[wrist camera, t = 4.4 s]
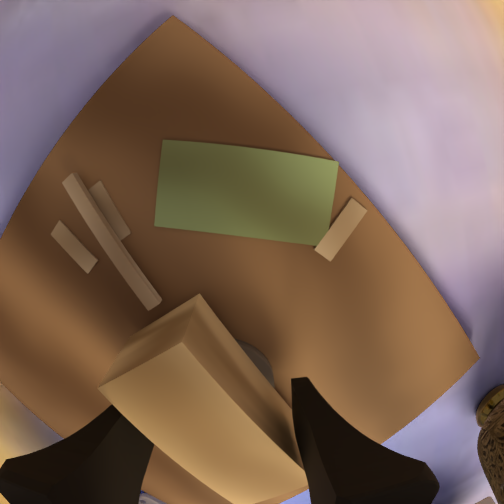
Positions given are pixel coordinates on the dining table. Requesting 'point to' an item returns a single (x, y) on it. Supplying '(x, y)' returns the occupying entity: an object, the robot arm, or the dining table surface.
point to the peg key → (198, 388)
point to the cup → (492, 440)
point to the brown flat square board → (215, 255)
